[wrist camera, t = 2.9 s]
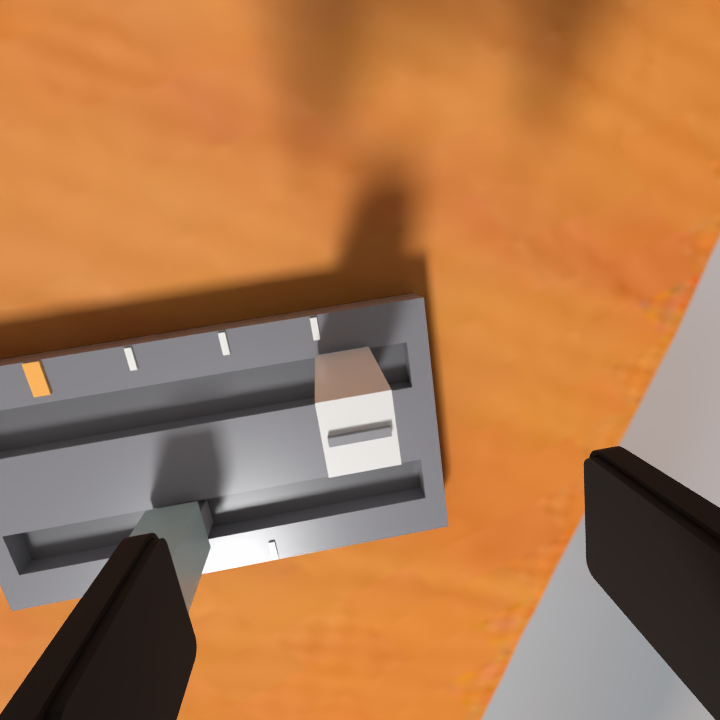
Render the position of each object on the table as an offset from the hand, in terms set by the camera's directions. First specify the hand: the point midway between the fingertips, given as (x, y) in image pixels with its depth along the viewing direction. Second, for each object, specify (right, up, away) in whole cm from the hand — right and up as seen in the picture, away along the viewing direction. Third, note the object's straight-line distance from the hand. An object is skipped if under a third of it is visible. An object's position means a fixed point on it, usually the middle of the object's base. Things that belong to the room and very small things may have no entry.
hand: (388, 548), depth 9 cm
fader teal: (-9, -4, +12) cm, 16 cm away
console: (-8, 0, +13) cm, 15 cm away
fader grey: (-1, +4, +11) cm, 12 cm away
